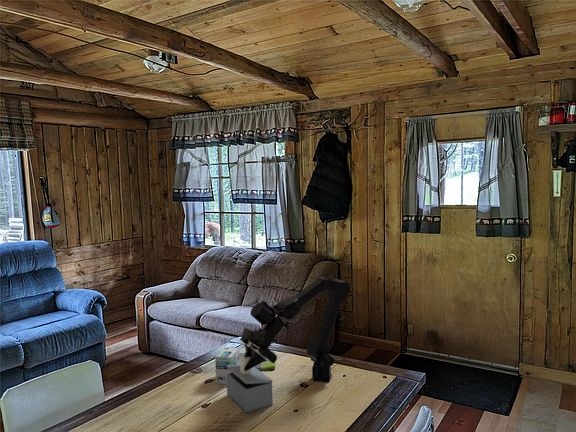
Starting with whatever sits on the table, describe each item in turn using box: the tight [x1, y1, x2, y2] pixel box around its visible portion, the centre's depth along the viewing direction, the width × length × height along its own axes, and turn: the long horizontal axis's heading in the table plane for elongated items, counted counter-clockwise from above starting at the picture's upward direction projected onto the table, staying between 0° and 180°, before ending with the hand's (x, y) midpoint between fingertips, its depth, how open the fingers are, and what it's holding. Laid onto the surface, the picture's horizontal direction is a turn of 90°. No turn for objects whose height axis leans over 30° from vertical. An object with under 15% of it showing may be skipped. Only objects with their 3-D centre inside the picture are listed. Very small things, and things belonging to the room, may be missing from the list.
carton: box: [226, 372, 274, 414], centre depth 160 cm, size 10×16×8 cm, turn 31°
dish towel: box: [239, 350, 278, 372], centre depth 194 cm, size 18×24×3 cm
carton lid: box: [226, 357, 273, 384], centre depth 160 cm, size 10×16×6 cm, turn 31°
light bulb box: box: [214, 346, 241, 385], centre depth 179 cm, size 11×7×11 cm, turn 168°
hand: (243, 368), depth 159 cm, fingers closed on carton lid, 2 cm apart
